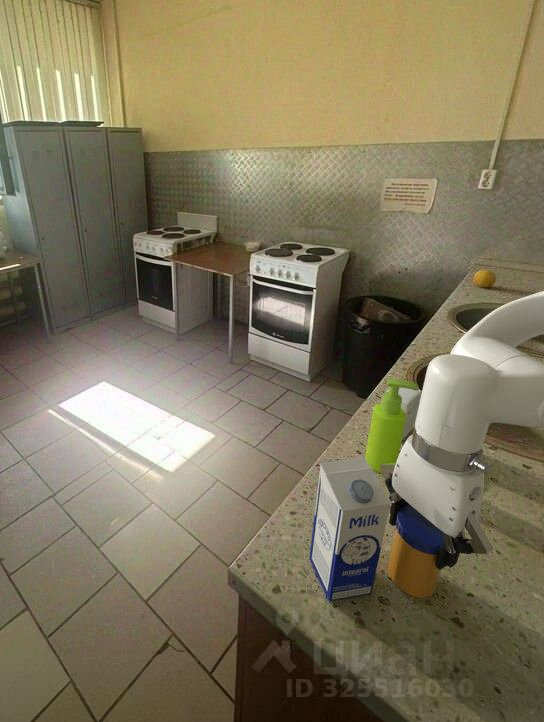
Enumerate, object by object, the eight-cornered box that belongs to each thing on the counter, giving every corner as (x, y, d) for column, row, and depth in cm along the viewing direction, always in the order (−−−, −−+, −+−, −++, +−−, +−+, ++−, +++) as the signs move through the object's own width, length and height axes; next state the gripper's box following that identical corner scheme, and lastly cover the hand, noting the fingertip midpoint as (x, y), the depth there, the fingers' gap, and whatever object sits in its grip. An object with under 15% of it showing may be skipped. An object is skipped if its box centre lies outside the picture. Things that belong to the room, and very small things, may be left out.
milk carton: (348, 551, 65) (365, 455, 58) (372, 593, 59) (394, 491, 52) (308, 558, 64) (319, 461, 57) (328, 601, 58) (343, 499, 51)
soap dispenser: (403, 477, 79) (421, 393, 72) (366, 470, 81) (380, 387, 74) (398, 457, 84) (415, 376, 77) (363, 450, 87) (377, 371, 79)
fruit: (475, 282, 190) (479, 266, 187) (495, 286, 184) (500, 270, 181) (469, 287, 185) (473, 270, 182) (489, 290, 179) (494, 274, 176)
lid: (435, 514, 61) (438, 505, 60) (460, 557, 54) (463, 548, 54) (388, 510, 61) (389, 502, 61) (406, 553, 55) (408, 544, 54)
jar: (423, 557, 64) (436, 509, 60) (444, 600, 58) (459, 549, 54) (381, 553, 65) (391, 506, 61) (396, 595, 58) (408, 545, 55)
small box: (390, 417, 97) (397, 380, 93) (414, 428, 93) (423, 390, 89) (375, 431, 92) (381, 393, 89) (399, 443, 88) (408, 404, 85)
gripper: (538, 482, 46) (498, 585, 52) (406, 403, 61) (388, 490, 67) (498, 504, 43) (461, 610, 50) (370, 416, 58) (355, 506, 65)
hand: (419, 541), depth 58 cm, fingers closed on lid, 6 cm apart
